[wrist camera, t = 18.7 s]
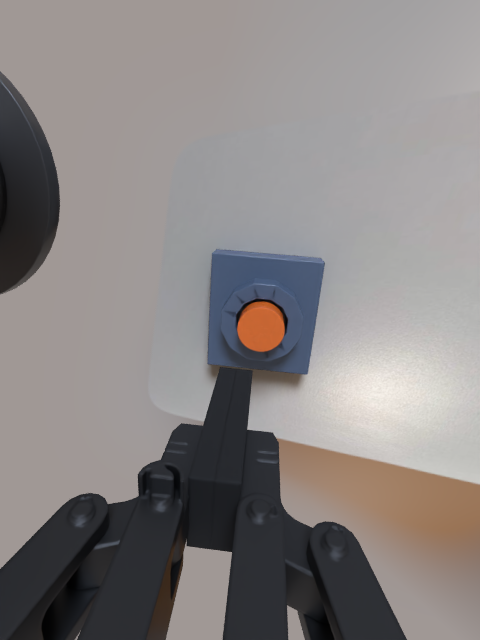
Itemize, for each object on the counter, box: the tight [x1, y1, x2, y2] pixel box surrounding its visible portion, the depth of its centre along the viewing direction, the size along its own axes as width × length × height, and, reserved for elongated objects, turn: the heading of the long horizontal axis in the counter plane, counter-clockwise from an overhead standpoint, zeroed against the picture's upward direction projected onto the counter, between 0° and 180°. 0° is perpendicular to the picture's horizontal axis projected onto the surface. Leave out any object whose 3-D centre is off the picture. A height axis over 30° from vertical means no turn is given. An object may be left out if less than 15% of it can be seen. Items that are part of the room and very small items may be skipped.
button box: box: [208, 249, 325, 374], centre depth 29 cm, size 10×9×4 cm
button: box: [237, 301, 285, 352], centre depth 27 cm, size 4×4×2 cm
